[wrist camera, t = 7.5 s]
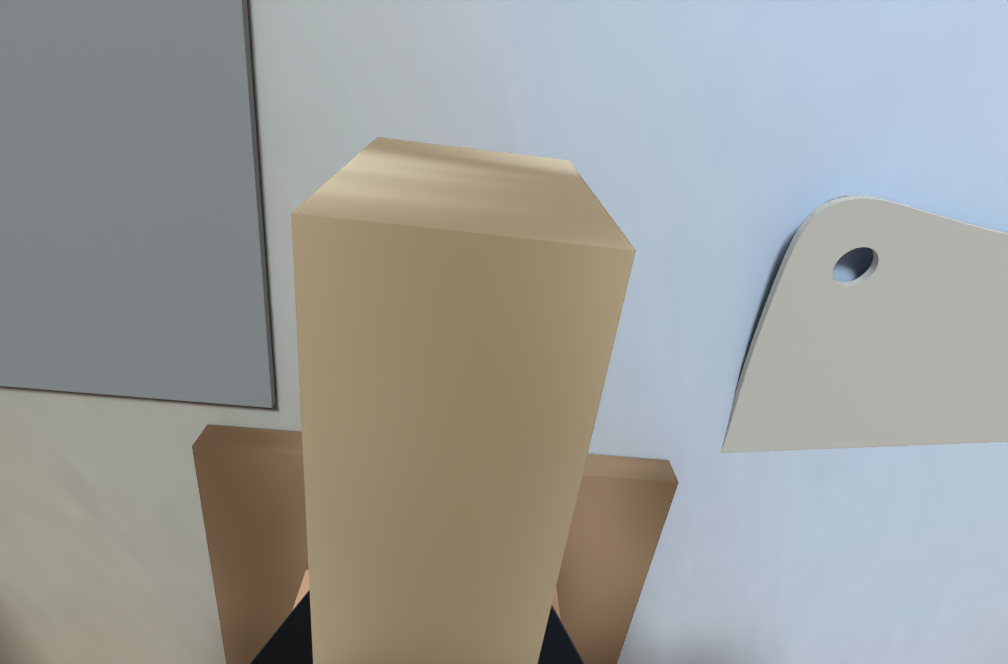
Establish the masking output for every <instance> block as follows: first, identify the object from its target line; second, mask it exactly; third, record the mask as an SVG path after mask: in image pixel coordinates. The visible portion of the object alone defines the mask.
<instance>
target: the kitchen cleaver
mask: <svg viewBox="0 0 1008 664" xmlns="http://www.w3.org/2000/svg"><path fill="white" fill-rule="evenodd" d="M860 247H868V248H871V249H872V251H873V261H872V264H871V266H870V267H869V269H868V270H867V271H866V272H865V273H864V274H863V275H862V276H860V277H859V278H857V279H855V280H852V281H849V282H838V281H835V280H834V277H833V270H834V267H835V264H836V263H837V261H838V260H839V259H840V258H841V257H842V256H843V255H844V254H845V253H847V252H849V251H850V250H853V249H855V248H860ZM986 442H1008V233H1007V232H1003V231H998V230H993V229H989V228H985V227H981V226H977V225H973V224H969V223H966V222H962V221H959V220H955V219H951V218H948V217H945V216H941V215H938V214H935V213H931V212H928V211H925V210H922V209H918V208H915V207H912V206H908V205H905V204H902V203H898V202H894V201H891V200H886V199H882V198H877V197H871V196H862V195H852V196H843V197H838V198H835V199H832V200H829V201H828V202H826V203H824V204H822V205H820V206H819V207H818V208H816V209H815V210H814V211H813V212H812V213H811V214H810V215H809V216H808V217H807V218H806V219H805V220H804V221H803V223H802V224H801V225H800V227H799V228H798V230H797V232H796V234H795V235H794V237H793V239H792V241H791V243H790V245H789V247H788V249H787V251H786V254H785V256H784V258H783V261H782V263H781V266H780V268H779V271H778V273H777V276H776V278H775V281H774V283H773V286H772V288H771V291H770V294H769V296H768V299H767V301H766V304H765V307H764V309H763V312H762V315H761V317H760V320H759V323H758V325H757V328H756V331H755V334H754V337H753V339H752V342H751V345H750V348H749V351H748V354H747V357H746V360H745V363H744V366H743V369H742V373H741V376H740V379H739V382H738V386H737V389H736V393H735V396H734V399H733V404H732V408H731V413H730V417H729V422H728V426H727V430H726V435H725V439H724V443H723V446H722V450H721V453H730V452H755V451H781V450H807V449H832V448H858V447H884V446H909V445H935V444H961V443H986Z"/></svg>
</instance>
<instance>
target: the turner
mask: <svg viewBox="0 0 1008 664" xmlns="http://www.w3.org/2000/svg"><path fill="white" fill-rule="evenodd" d="M291 215H292V236H293V257H294V277H295V298H296V319H297V340H298V360H299V381H300V402H301V423H302V443H303V464H304V485H305V506H306V526H307V547H308V568H309V589H310V609H311V630H312V651H313V664H538V660H539V655H540V651H541V647H542V643H543V639H544V634H545V630H546V626H547V622H548V618H549V613H550V609H551V605H552V601H553V597H554V592H555V588H556V584H557V580H558V575H559V571H560V567H561V563H562V559H563V554H564V550H565V546H566V542H567V538H568V533H569V529H570V525H571V521H572V517H573V512H574V508H575V504H576V500H577V496H578V491H579V487H580V483H581V479H582V475H583V470H584V466H585V462H586V458H587V454H588V449H589V445H590V441H591V437H592V433H593V428H594V424H595V420H596V416H597V412H598V407H599V403H600V399H601V395H602V391H603V386H604V382H605V378H606V374H607V369H608V365H609V361H610V357H611V353H612V348H613V344H614V340H615V336H616V332H617V327H618V323H619V319H620V315H621V311H622V306H623V302H624V298H625V294H626V290H627V285H628V281H629V277H630V273H631V269H632V264H633V260H634V256H635V252H636V250H635V249H634V247H633V246H632V245H631V243H630V242H629V240H628V239H627V238H626V236H625V235H624V234H623V232H622V231H621V230H620V228H619V227H618V226H617V224H616V223H615V222H614V220H613V219H612V217H611V216H610V215H609V213H608V212H607V211H606V209H605V208H604V207H603V205H602V204H601V203H600V201H599V200H598V199H597V197H596V196H595V195H594V193H593V192H592V190H591V189H590V188H589V186H588V185H587V184H586V182H585V181H584V180H583V178H582V177H581V176H580V174H579V173H578V172H577V170H576V169H575V168H574V166H573V165H572V163H571V162H570V161H569V160H562V159H554V158H546V157H537V156H529V155H521V154H513V153H504V152H496V151H488V150H480V149H471V148H463V147H455V146H447V145H438V144H430V143H422V142H414V141H405V140H397V139H389V138H381V137H377V138H376V139H375V140H374V141H373V142H371V143H370V144H369V145H368V146H367V147H366V148H365V149H363V150H362V151H361V152H360V153H359V154H358V155H357V156H356V157H354V158H353V159H352V160H351V161H350V162H349V163H348V164H346V165H345V166H344V167H343V168H342V169H341V170H340V171H338V172H337V173H336V174H335V175H334V176H333V177H332V178H331V179H329V180H328V181H327V182H326V183H325V184H324V185H323V186H321V187H320V188H319V189H318V190H317V191H316V192H315V193H313V194H312V195H311V196H310V197H309V198H308V199H307V200H306V201H304V202H303V203H302V204H301V205H300V206H299V207H298V208H296V209H295V210H294V211H293V212H292V213H291Z"/></svg>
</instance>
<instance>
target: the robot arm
mask: <svg viewBox="0 0 1008 664" xmlns="http://www.w3.org/2000/svg"><path fill="white" fill-rule="evenodd" d="M250 664H313V651H312V630H311V609H310V590H309V591H308V592H307V593H306V594H305V596H304V597H303V598H302V599H301V601H300V602H299V603H298V604H297V606H296V607H295V608H294V609H293V610H292V612H291V613H290V614H289V615H288V617H287V618H286V619H285V620H284V622H283V623H282V624H281V625H280V627H279V628H278V629H277V630H276V631H275V633H274V634H273V635H272V636H271V638H270V639H269V640H268V641H267V643H266V644H265V645H264V646H263V647H262V649H261V650H260V651H259V652H258V654H257V655H256V656H255V657H254V659H253V660H252V661H251V662H250ZM538 664H585V663H584V661H583V660H582V658H581V656H580V654H579V652H578V651H577V649H576V647H575V645H574V643H573V642H572V640H571V638H570V636H569V634H568V633H567V631H566V629H565V627H564V625H563V623H562V622H561V620H560V618H559V616H558V614H557V613H556V611H555V609H554V607H553V605H551V609H550V613H549V618H548V622H547V626H546V630H545V634H544V639H543V643H542V647H541V651H540V655H539V660H538Z"/></svg>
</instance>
